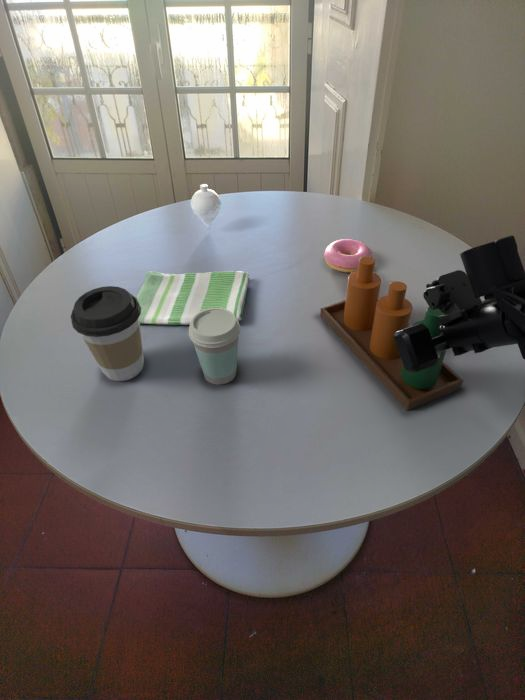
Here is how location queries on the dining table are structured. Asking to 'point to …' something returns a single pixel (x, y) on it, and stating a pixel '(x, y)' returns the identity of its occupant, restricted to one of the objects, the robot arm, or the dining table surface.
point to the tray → (388, 363)
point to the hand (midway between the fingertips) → (421, 340)
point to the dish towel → (190, 295)
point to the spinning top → (206, 204)
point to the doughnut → (346, 254)
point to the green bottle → (431, 321)
